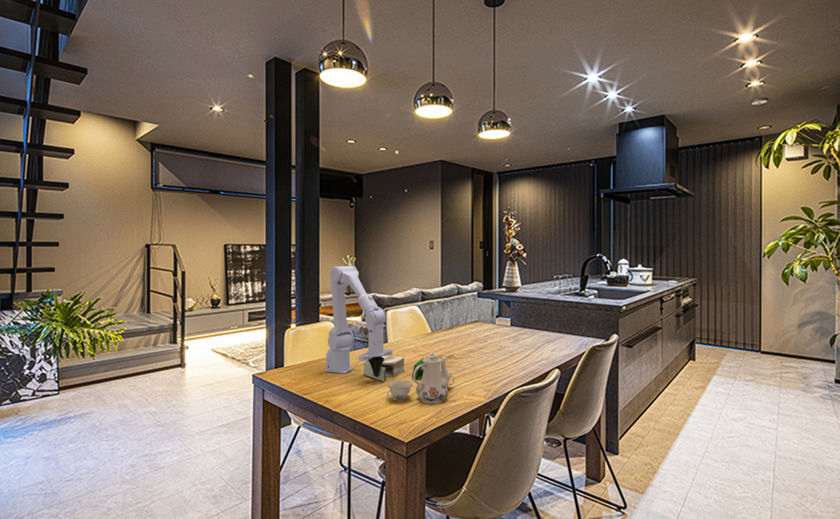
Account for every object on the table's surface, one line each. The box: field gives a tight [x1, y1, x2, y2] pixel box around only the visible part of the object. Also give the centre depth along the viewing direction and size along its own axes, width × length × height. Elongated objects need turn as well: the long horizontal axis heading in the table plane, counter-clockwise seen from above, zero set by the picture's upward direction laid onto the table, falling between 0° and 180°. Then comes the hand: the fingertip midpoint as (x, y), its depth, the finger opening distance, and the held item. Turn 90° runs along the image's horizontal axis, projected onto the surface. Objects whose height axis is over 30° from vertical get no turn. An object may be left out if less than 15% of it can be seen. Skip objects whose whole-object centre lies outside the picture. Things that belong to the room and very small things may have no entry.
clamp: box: [411, 357, 425, 380], centre depth 165 cm, size 12×6×9 cm, turn 156°
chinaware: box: [386, 351, 455, 405], centre depth 142 cm, size 28×17×17 cm, turn 132°
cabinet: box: [364, 355, 405, 378], centre depth 170 cm, size 13×10×6 cm
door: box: [363, 361, 387, 382], centre depth 162 cm, size 14×1×5 cm, turn 43°
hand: (376, 376), depth 159 cm, fingers closed
